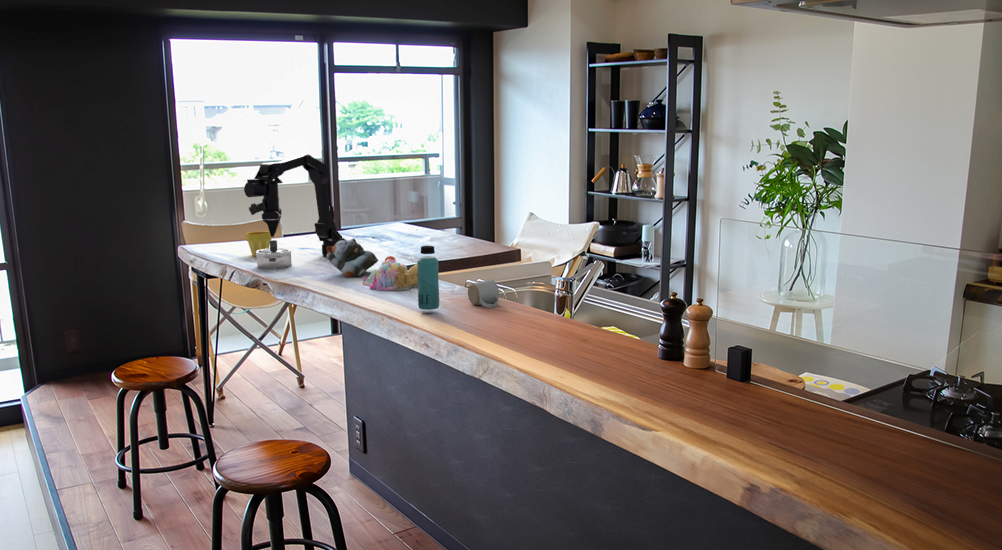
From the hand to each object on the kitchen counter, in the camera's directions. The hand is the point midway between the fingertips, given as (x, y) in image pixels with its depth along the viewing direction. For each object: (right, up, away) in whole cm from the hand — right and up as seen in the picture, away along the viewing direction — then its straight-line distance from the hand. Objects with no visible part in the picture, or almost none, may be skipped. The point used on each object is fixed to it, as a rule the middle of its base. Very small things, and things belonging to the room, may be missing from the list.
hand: (273, 235), depth 294 cm
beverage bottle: (+68, -27, -72) cm, 103 cm away
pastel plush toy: (+53, -19, -31) cm, 64 cm away
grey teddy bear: (+34, -16, -14) cm, 40 cm away
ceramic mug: (+85, -25, -62) cm, 108 cm away
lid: (0, -7, +1) cm, 7 cm away
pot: (0, -12, +2) cm, 12 cm away
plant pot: (-14, -7, +28) cm, 32 cm away
